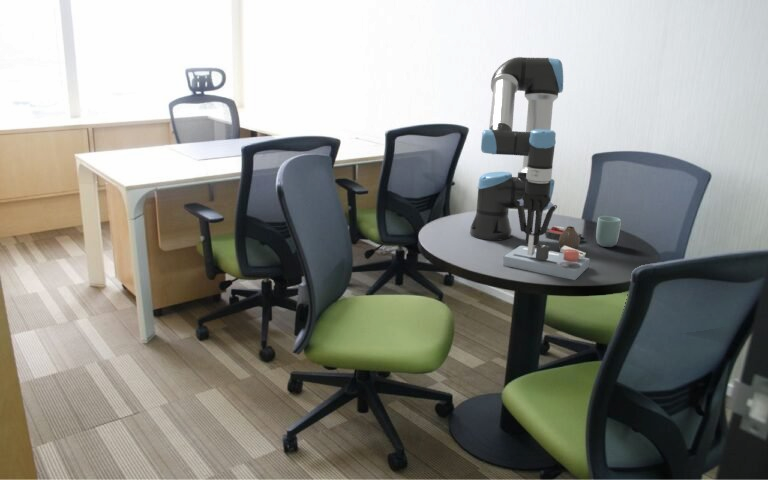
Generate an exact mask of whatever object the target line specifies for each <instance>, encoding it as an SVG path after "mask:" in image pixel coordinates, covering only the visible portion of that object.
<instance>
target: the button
mask: <svg viewBox="0 0 768 480" xmlns="http://www.w3.org/2000/svg"><path fill="white" fill-rule="evenodd" d="M577 250H578V249H577ZM577 250H573V249H566V250H564V253H563V254H564V257H563V259H564V260H566V261H570V262H576V261H578V257H579V251H580V250H579V251H577Z"/></svg>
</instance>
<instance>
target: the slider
mask: <svg viewBox="0 0 768 480" xmlns="http://www.w3.org/2000/svg"><path fill="white" fill-rule="evenodd" d="M536 248H537V250H536V259H538V260H543V261H545V260H547V259H548V254H549V251H550V245H545V244H538V245H537V246H536Z"/></svg>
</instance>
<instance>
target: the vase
mask: <svg viewBox="0 0 768 480" xmlns="http://www.w3.org/2000/svg"><path fill="white" fill-rule="evenodd" d="M565 228H566V229H565V230H564V231H563V232H562V234H561V235H560V237H559V240H558V248H559V250H561V248H562V247H563V246H568V247H571V248H573V249H576V250H579V247H580V242H581V241H580V240H579V236H578V234H577V233H578V232H577V231H576V229H575V227H574V226H571V225H570V226H566V227H565Z"/></svg>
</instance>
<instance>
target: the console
mask: <svg viewBox="0 0 768 480" xmlns="http://www.w3.org/2000/svg"><path fill="white" fill-rule="evenodd" d="M536 250H537V247H535V254H533V255H532V256H530V255H527V252H528V246H525V245H519V246H518V247H516V248H514V249H513V250H511V251H510V252H508V253H506V254H505V255H504V256H503V259H502V260H503V261H502V266H506V267H509V268H510V267H511V268H515V269H518V270H519V269H520V270H524V271H529V272H533V273H534V272H535V273H537V274H538V273H539V274H544V275H549V276H553V277H557V278H561V279H562V278H563V279H567V280H571V281H572V280H573V281H575V280H576V279H578V278H579V277H580V276H581V275H582V274H583V273H584V272H585V271H586V270H587V269H588V268H589V266H590V265H589V264H590V257H589V258H588V257H586V256H585V257H584V258H583V259H578V261H576V262H570V261H566V260H564V259H563V257H564V253H562V252H558V251H553V250H549V254H548V259H547V260H545V261H543V260H538V259H536Z"/></svg>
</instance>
